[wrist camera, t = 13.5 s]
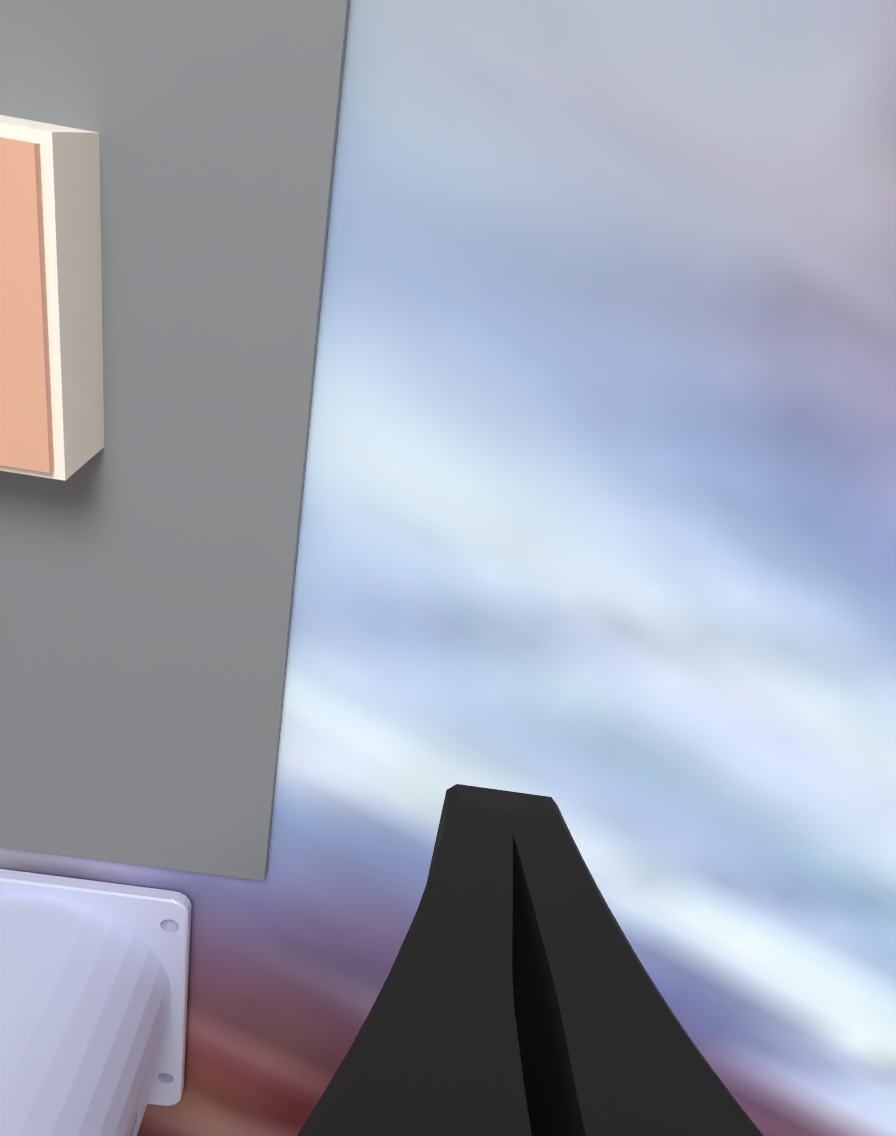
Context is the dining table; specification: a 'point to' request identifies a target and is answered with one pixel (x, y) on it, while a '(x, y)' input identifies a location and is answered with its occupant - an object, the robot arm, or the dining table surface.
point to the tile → (50, 299)
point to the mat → (172, 430)
